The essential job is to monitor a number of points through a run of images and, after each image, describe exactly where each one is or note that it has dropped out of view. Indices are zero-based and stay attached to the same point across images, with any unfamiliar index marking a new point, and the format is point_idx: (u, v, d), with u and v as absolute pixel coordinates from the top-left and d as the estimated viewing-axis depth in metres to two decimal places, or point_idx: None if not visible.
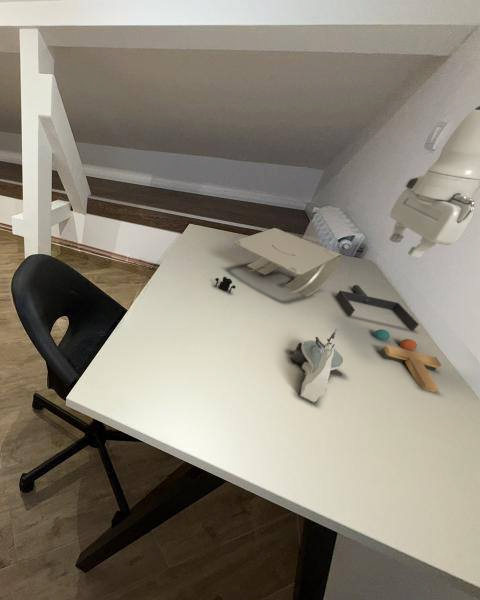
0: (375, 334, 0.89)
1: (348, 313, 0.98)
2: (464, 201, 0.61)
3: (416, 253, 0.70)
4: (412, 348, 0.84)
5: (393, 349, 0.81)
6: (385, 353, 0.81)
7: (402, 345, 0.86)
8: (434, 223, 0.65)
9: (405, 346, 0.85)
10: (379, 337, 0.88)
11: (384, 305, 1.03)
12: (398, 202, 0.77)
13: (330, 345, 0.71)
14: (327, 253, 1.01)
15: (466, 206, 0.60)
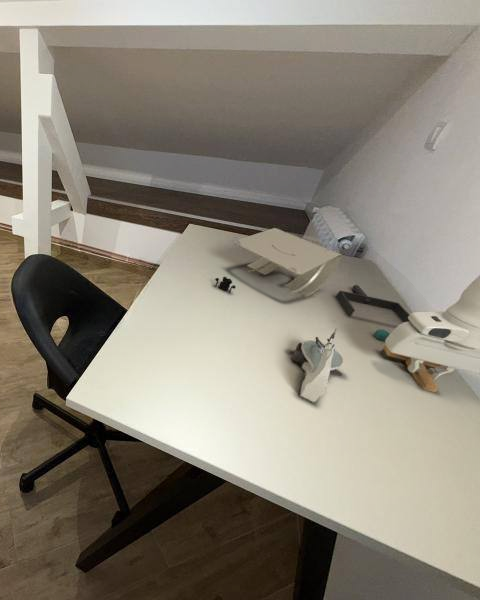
0: (375, 334, 0.89)
1: (348, 313, 0.98)
2: None
3: None
4: None
5: None
6: (385, 353, 0.81)
7: None
8: None
9: None
10: (379, 337, 0.88)
11: (384, 305, 1.03)
12: (406, 343, 0.72)
13: (330, 345, 0.71)
14: (327, 253, 1.01)
15: None
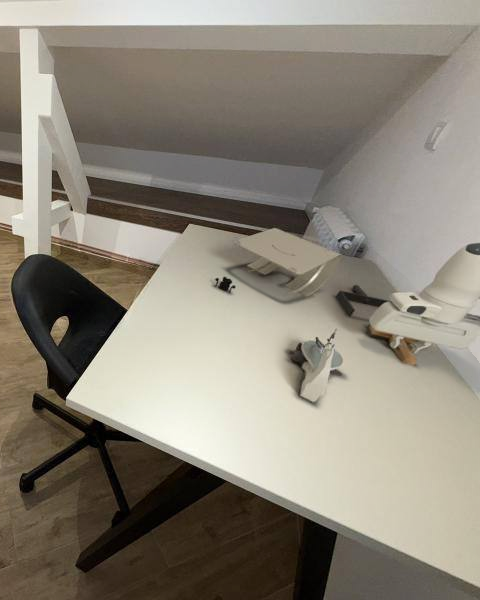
0: (369, 325, 0.92)
1: (348, 313, 0.98)
2: (479, 319, 0.74)
3: None
4: None
5: None
6: (370, 332, 0.89)
7: None
8: (460, 337, 0.76)
9: None
10: None
11: None
12: (387, 320, 0.79)
13: (330, 345, 0.71)
14: (327, 253, 1.01)
15: None
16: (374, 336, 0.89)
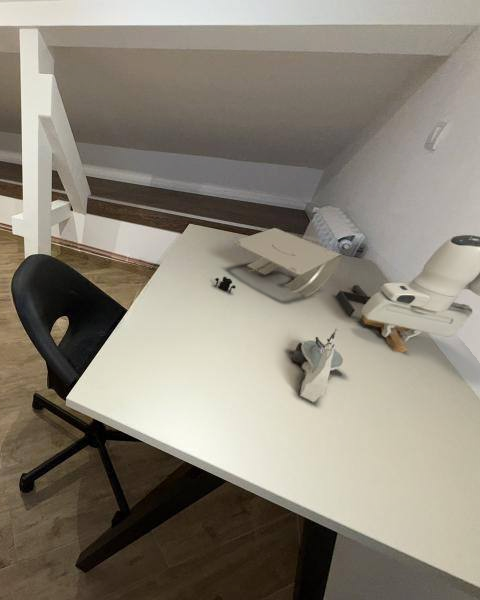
0: (361, 318, 0.96)
1: (348, 313, 0.98)
2: (465, 308, 0.78)
3: None
4: None
5: None
6: (363, 322, 0.93)
7: None
8: (447, 325, 0.80)
9: None
10: None
11: None
12: (379, 309, 0.83)
13: (330, 345, 0.71)
14: (327, 253, 1.01)
15: (468, 311, 0.78)
16: (367, 326, 0.93)
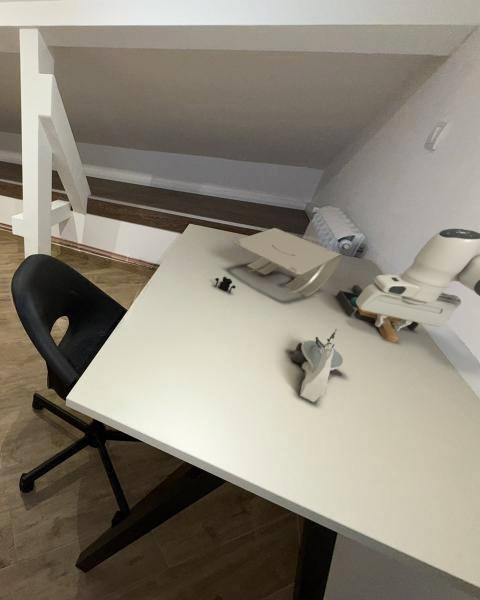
0: (350, 301, 1.03)
1: (348, 313, 0.98)
2: (453, 298, 0.82)
3: None
4: None
5: None
6: (358, 312, 0.96)
7: None
8: (437, 315, 0.84)
9: None
10: (351, 304, 1.04)
11: None
12: (372, 300, 0.87)
13: (330, 345, 0.71)
14: (327, 253, 1.01)
15: (457, 301, 0.82)
16: (362, 316, 0.96)
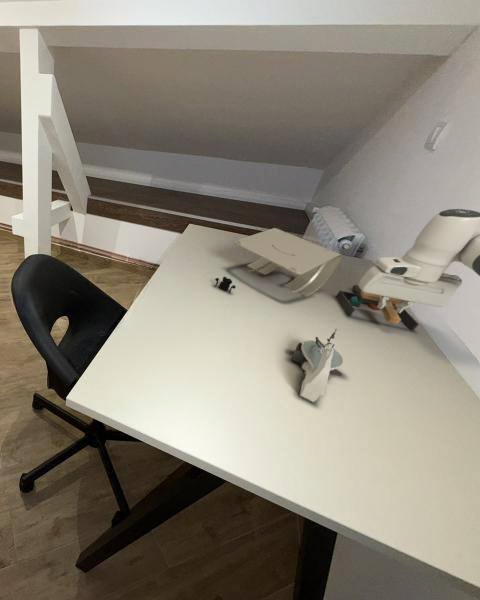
0: (349, 300, 1.04)
1: (348, 313, 0.98)
2: (455, 278, 0.83)
3: None
4: None
5: None
6: (361, 296, 0.98)
7: None
8: (439, 295, 0.85)
9: None
10: (351, 304, 1.04)
11: None
12: (374, 282, 0.88)
13: (330, 345, 0.71)
14: (327, 253, 1.01)
15: (458, 281, 0.83)
16: (364, 300, 0.97)
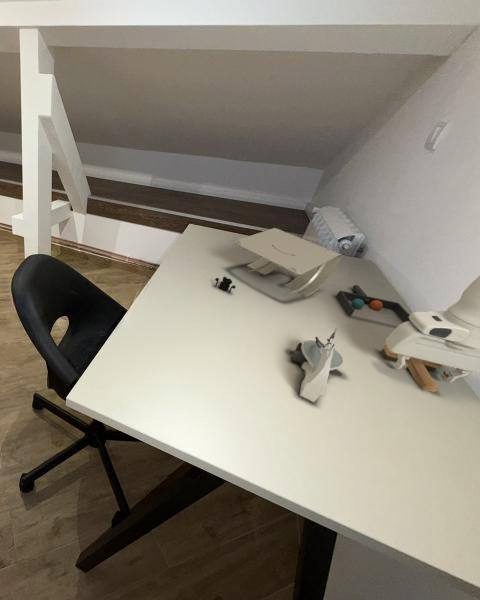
0: (351, 302, 1.03)
1: (348, 313, 0.98)
2: None
3: None
4: (380, 305, 1.01)
5: None
6: (385, 353, 0.81)
7: (371, 304, 1.02)
8: None
9: (374, 304, 1.01)
10: None
11: (384, 305, 1.03)
12: (407, 342, 0.71)
13: (330, 345, 0.71)
14: (327, 253, 1.01)
15: None
16: (389, 358, 0.81)
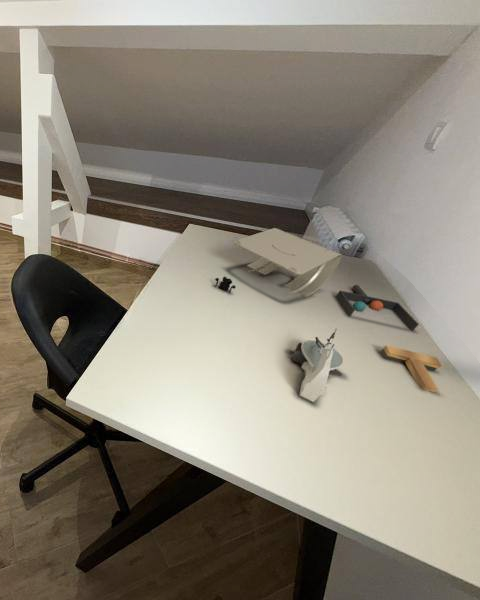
0: (353, 304, 1.01)
1: (348, 313, 0.98)
2: None
3: None
4: (380, 305, 1.01)
5: (393, 349, 0.81)
6: (385, 353, 0.81)
7: (372, 305, 1.02)
8: None
9: (374, 305, 1.01)
10: None
11: (384, 305, 1.03)
12: None
13: (330, 345, 0.71)
14: (327, 253, 1.01)
15: None
16: (389, 358, 0.81)
